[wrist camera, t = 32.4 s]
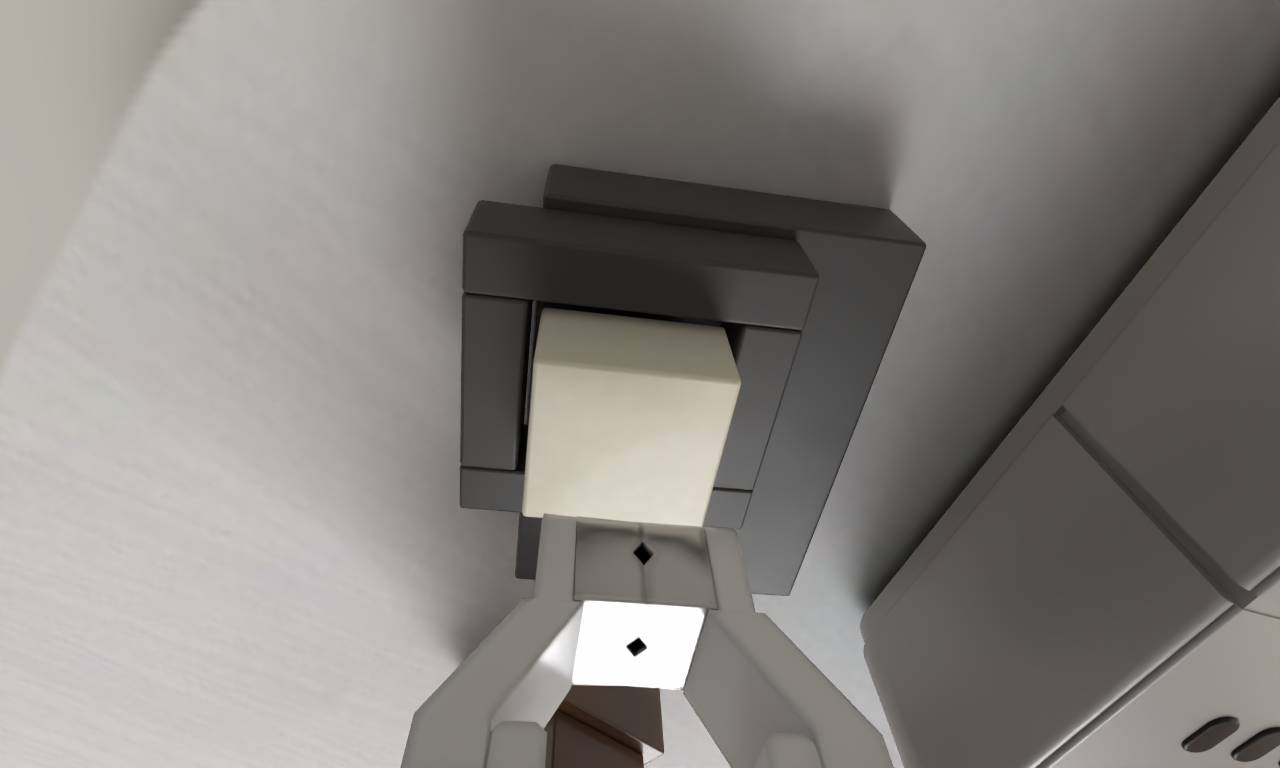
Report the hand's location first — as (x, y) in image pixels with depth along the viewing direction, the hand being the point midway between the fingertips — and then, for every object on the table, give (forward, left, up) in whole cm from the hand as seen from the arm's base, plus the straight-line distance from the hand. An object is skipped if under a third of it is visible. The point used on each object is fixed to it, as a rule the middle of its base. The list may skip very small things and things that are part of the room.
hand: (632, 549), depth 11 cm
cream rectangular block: (0, 0, -4) cm, 4 cm away
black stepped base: (+2, +1, -8) cm, 8 cm away
